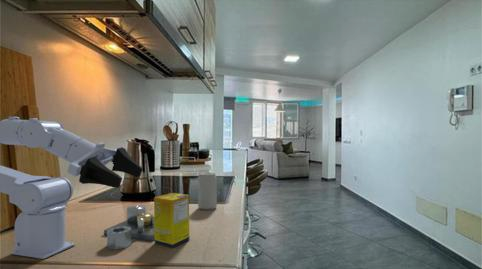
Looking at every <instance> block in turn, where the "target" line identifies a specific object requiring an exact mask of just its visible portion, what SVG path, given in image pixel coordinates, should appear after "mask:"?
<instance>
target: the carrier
mask: <svg viewBox="0 0 482 269" xmlns="http://www.w3.org/2000/svg"><path fill="white" fill-rule="evenodd" d="M154 220H155V219H154V215H153V213H151V212H147V211H146V206H145V205H131V206H128V207H127V208H126V220H124V221H122V222H120V223H117V224H115V225H113V226H110V227H108V228H105V229H104V230H103V235H104V236H107V230H109V229H111V228H114V227H121V226H125V227H130V228H131V239H136V240H144V241H145V240H146V241H154V242H155V222H154Z"/></svg>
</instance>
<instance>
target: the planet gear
mask: <svg viewBox="0 0 482 269" xmlns="http://www.w3.org/2000/svg"><path fill="white" fill-rule="evenodd" d="M131 245H132V238H131V228H130V227H125V226H121V227H114V228H111V229H109V230H107V235H106V246H107V247H106V248H107V249H108V250H114V251H116V250H121V249H127V248H128V247H130V246H131Z"/></svg>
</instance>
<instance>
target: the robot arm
mask: <svg viewBox="0 0 482 269" xmlns="http://www.w3.org/2000/svg"><path fill="white" fill-rule="evenodd" d="M0 144H2V145H9V146H10V145H12V146H14V145H15V146H26V147H27V148H30V149H36V148H41V149H43V150H45V151H46V152H49V153H51V154H52V155H54V156H56V157H58V158H61V159H62V160H65V161H67V162H68V163H69V165H68V167H67V171H66V172H67V173H68V174H69V175H71V176H73V177H79V180H78V182H79V183H80V184H83V185H85V184H86V185H89V184H90V185H91V184H95V185H102V186H106V187H107V186H108V187H110V188H116V189H118V188H120V186H121V183H122V181H123V177H122V176H121V175H119V174H117V173H116V172H121V173H125V174H126V175H127V174H128V175H131V176H133V177H137V178H139V177H141V175H142V172H143V171H144V170H143V169H144V168H143V167H142V166H141V165H140V164H139V163H138V162H136V161H135V160H134V159H133V158H132V157H131V156H130V154H129V152H128V151H127V149H126V148H125V147H122V146H121V147H118V148H113V149H112V148H109V147H105V146H106V143H104V142H102V141H101V142H98V143H93V142H91V141H89V140H87V139H85V138H84V137H82V136H80V135H77V134H75V133H73V132H72V131H69V130H66V129H65V128H64V126H63V125H62V124H61V123H60V122H57V121H54V120H39V119H38V118H37V117H36V118H31V117H30V118H29V119H20V117H18V116H8V118H5V119H2V120H0ZM110 162H111V163H112V165H113V166H112V169H110V168H108V167H107V166H106V165H108V164H109V163H110ZM0 193H2V194H6V195H8V199H9V200H8V202H9V203H10V204H13V205H15V206H17V207H18V209H19V210H20V211H22V212H20V213H19V214H18V215H17V217H16V219H15V221H14V250H11V251H10V254H11V255H15V256H21V257H22V256H23V257H28V258H29V257H30V258H34V259H41V260H42V259H43V260H44V259H47V258H49V257H51V256H53V255H56V254H58V253H60V252H62V251H64V250H66V249H70V248H72V247H73V246H75V245H76V244H75V242H71V241H66V207H68V202H69V201H70V200H71V199H72V197H73V194H74V188H73V185H72V183H71V181H70V180H69V179H68V178H66V177H64V176H55V177H52V176H51V177H50V176H46V175H31V174H28V173H25V172H23V171H19V170H15V169H14V168H11V167H8V166H7V167H6V166H5V165H0Z"/></svg>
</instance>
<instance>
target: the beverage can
mask: <svg viewBox="0 0 482 269" xmlns="http://www.w3.org/2000/svg"><path fill="white" fill-rule="evenodd" d="M217 178H218V177H217V175H216V172H207V171H206V172H199V173H198V177H197V206H198V208H199V209H200V210H202V211H203V210H204V211H209V210H210V211H211V210H214V209H215V208H216V207H217V206H218V202H217V201H218V195H217V193H218V190H217V189H218V188H217V183H218V181H217Z"/></svg>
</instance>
